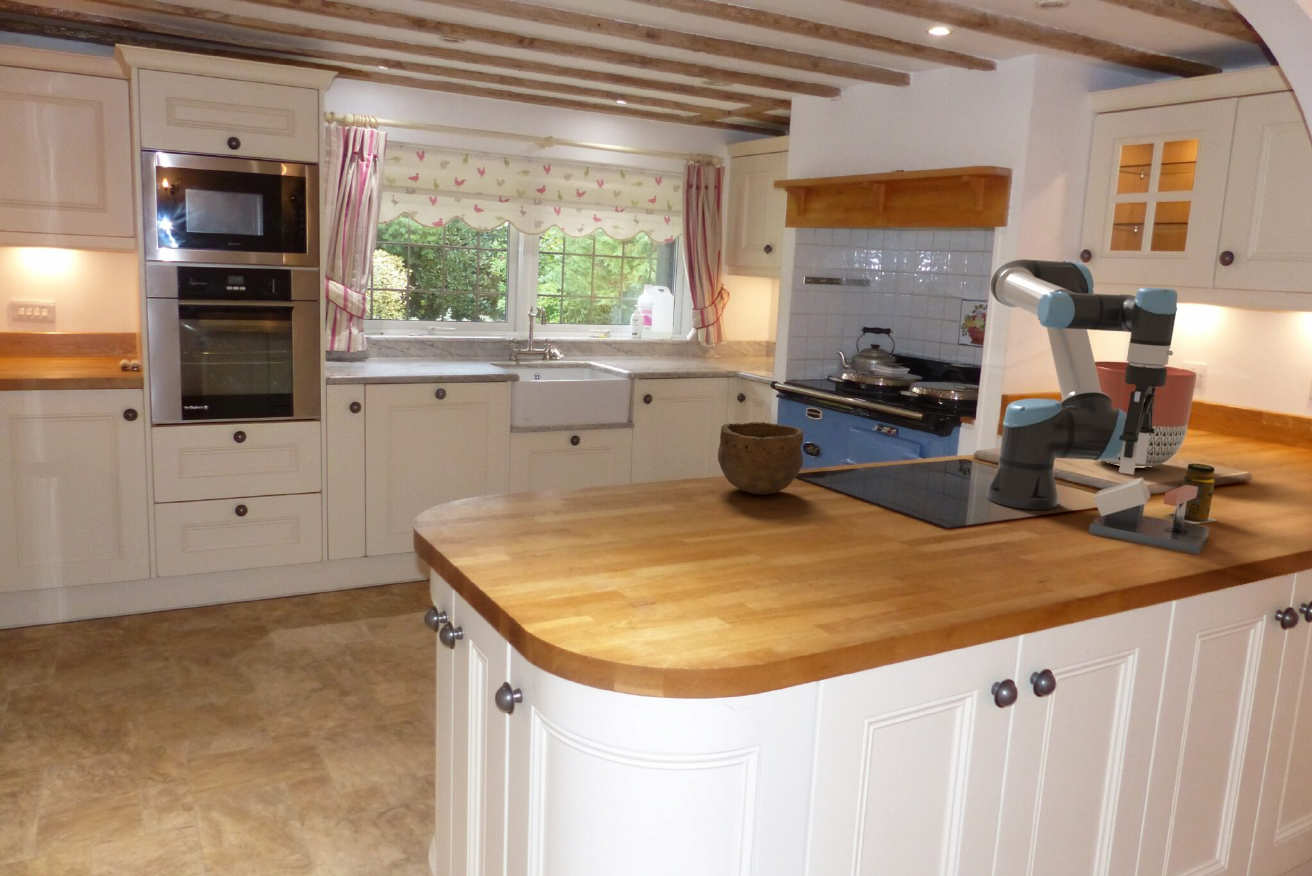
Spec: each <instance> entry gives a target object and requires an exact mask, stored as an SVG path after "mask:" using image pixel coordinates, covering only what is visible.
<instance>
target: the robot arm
mask: <svg viewBox="0 0 1312 876" xmlns="http://www.w3.org/2000/svg"><path fill="white" fill-rule="evenodd" d="M991 277H992V278H991V281H990V292H991V294H992V296H993V297H994V299H995V300H996V301H997V302H999V303H1000V304H1002V305H1004V306H1006V307H1009V308H1018V307H1019V308H1021V309H1023V310H1024V311H1027V312H1029V313H1031V314H1034V315H1035V316H1037V318H1038V321H1039V324H1040V325H1041V326H1042V327H1044V328H1046V329H1047V330H1046V331H1047V335H1048V340H1049V344H1050V348H1051V353H1052V359H1053V363H1054V366H1055V372H1056V376H1057V377H1056V378H1057V381H1058V386H1059V391H1060V395H1061V399H1062V400H1061V401H1059V400H1058V399H1051V398H1025V399H1018V400H1015V401H1012V402H1010V403H1009V404H1008V405H1007V407H1006V409H1005V413H1004V419H1003V420H1002V425H1003V426H1002V435H1001V441H1000V442H1001V444H1000V452H999V459H998V461H999V462H998V466H997V468H996V470H995V472H994V474H993V477H992V478H991V480H990V483H989V485H988V487H987V493H986V498H987V499H988V500H989V501H991V502H994V503H995V504H999V505H1002V506H1006V507H1009V508H1010V507H1011V508H1017V509H1023V510H1034V511H1036V510H1038V511H1039V510H1040V511H1041V510H1051V509H1055V508H1057V506H1058V499H1059V496H1058V495H1059V494H1058V489H1057V486H1056V480H1055V476H1054V466H1055V460H1056V459H1067V460H1068V459H1069V460H1070V459H1071V460H1072V459H1074V460H1092V461H1095V462H1097V461H1102V460H1111V459H1114V458H1115V457H1117V456H1118V455H1119V454H1120V453H1121V460H1120V467H1119V469H1118V473H1121V474H1127V475H1134V474H1135V463H1138V464H1146V457H1147V450H1148V443H1149V436H1150V434H1149V433H1154V428H1152V427H1153V425H1152V422H1153V407H1154V398H1155V390H1156V389H1155V387H1162V386H1164V385H1165V382H1166V376H1167V370H1166V368H1164V366H1167V365H1169V359H1170V358H1169V357H1170V356H1173V354H1174V351H1173V350H1170V349H1171V345H1172V340H1173V333H1174V328H1175V327H1174V326H1175V321H1176V315H1177V311H1178V306H1177V303H1178V292H1177V291H1176V290H1175V289H1173V288H1161V287H1160V288H1159V287H1158V288H1157V287H1140V288H1138V290H1137V291H1136V295H1132V294H1124V293H1123V294H1121V293H1120V294H1108V293H1107V294H1106V293H1103V294H1102V293H1095V292H1094V289H1093V288H1095V285H1094V284H1095V283H1094V277H1093V275H1092V273H1091V271H1090V269H1089V268H1088V266H1086V265H1085V264H1083V263H1080V262H1074V261H1071V260H1063V261H1054V260H1040V259H1039V260H1038V259H1023V258H1022V259H1015V260H1012V261H1008V262H1006V263H1005V264H1003V265H1001V266H1000V267H999V268H997V270H996V271H995V272H994V274H992V276H991ZM1088 331H1104V332H1105V331H1106V332H1123V333H1124V332H1126V333H1130V338H1129V342H1128V349H1127V357H1126V362H1129V363H1130V364H1129V365H1128V366H1126V372H1125V379H1124V380H1125V382H1126V383H1128V384H1134V385H1136V388H1135V391H1132V392H1131V394H1130V395H1131V396H1130V403H1129V407H1128V412H1127V414H1126V413H1125V411H1123V410H1121V409H1119V408H1117V409H1114V408H1113V405H1112V401H1111V398H1110V396H1109V395H1107V394H1105V393H1103V392H1102V390H1101V386H1100V382H1099V378H1098V374H1097V369H1096V365H1095V362H1096V361H1095V357H1094V353H1093V348H1092V344H1091V340H1090V337H1089V333H1088ZM1121 451H1122V452H1121Z"/></svg>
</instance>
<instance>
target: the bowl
mask: <svg viewBox="0 0 1312 876" xmlns="http://www.w3.org/2000/svg"><path fill="white" fill-rule="evenodd" d="M719 437H720V438H719V439H720V441H719V446H718V450H717V451H718V452H717V461H718V464H719V466H720V469H721V471H722V473H723V475H724V476H725V479H726V480H727V482H729V484H731V485H733V487H735V488H737V489H739V490H740V491H743V492H746V493H749V494H754V495H759V496H761V495H762V496H763V495H765V496H766V495H771V494H775V493H778V492H781V491H783V490H785V489H786V488H788V487H789V486H790V485H791V484H792V483H793V481H794V480H795V479H796V477H797V476H798V475H799V472H800V471H801V469H802V467H803V463H804V457H803V454H802V449H801V448H802V446H803V442H804V431H803V429H801V428H800V427H799V428H798V427H795V426H791V425H782V424H781V425H779V424H777V423H771V422H770V423H769V422H765V421H762V422H759V421H755V422H754V421H751V422H747V423H745V422H744V423H739V422H737V423H724V424H723V425H722V426H721V427H720V436H719Z"/></svg>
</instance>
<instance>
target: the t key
mask: <svg viewBox="0 0 1312 876" xmlns="http://www.w3.org/2000/svg"><path fill="white" fill-rule="evenodd" d="M1197 489H1198V487H1196V486H1190V485H1184V486H1179V487H1177V488H1174V489H1172V490H1169V491H1167V492H1165V493H1164V498H1163V504H1164V505H1168V506H1173V507H1175V509H1174V513H1175V514H1174V513H1173V514H1174V518H1173V520H1172V521H1173V527H1172V530H1175V531H1182V528H1183V523H1185V521H1184V515H1185V509H1186V503H1187V501H1189V500H1191V499H1194V498H1196V496H1197Z"/></svg>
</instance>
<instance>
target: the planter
mask: <svg viewBox="0 0 1312 876" xmlns="http://www.w3.org/2000/svg"><path fill="white" fill-rule="evenodd" d="M1129 364H1130V362H1128V361H1108V360H1107V361H1106V360H1105V361H1104V360H1103V361H1095V365H1096V369H1097V374H1098V378H1099V382H1100V386H1101V390H1102V392H1103V393H1105V394H1107V395H1109V396H1110V398H1111V401H1112V405H1113V408H1114V409H1117V408H1119V409H1121V410H1123V411H1125V413H1126V414H1127V412H1128V407H1129V403H1130V396H1131V395H1130V394H1131V392H1132V391H1135V388H1136V385H1134V384H1128V383H1126V382H1125V380H1124V379H1125V372H1126V366H1128V365H1129ZM1164 368H1166V370H1167V376H1166V382H1165V385H1164V386H1162V387H1155V389H1156V390H1155V398H1154V407H1153V422H1152V425H1153V427H1152V428H1154V433H1149V434H1150V436H1149V443H1148V450H1147V457H1146V464H1138V463H1135V466H1145V467H1146V466H1147V467H1149V466H1155V467H1157V465H1158V466H1160V465H1162V464H1164V463H1166V462H1167V461H1169V460H1170V459H1171V458H1173V457H1174V456H1175V455H1176V454H1177V453H1178V452H1179V450H1180V449H1181V447H1182V445H1183V443H1184V442H1185V441H1184V440H1185V439H1186V434H1187V431H1188V426H1189V422H1190V421H1189V419H1190V415H1191V409H1192V404H1193V397H1194V392H1195V387H1196V381H1197V380H1196V379H1197V375H1198V374H1197V373H1196V372H1195V371H1193V370H1188V369H1186V368H1180V367H1174V366H1167V365H1165V366H1164ZM1121 452H1122V451H1121ZM1120 460H1121V453H1120V454H1119V455H1118V456H1117V457H1115V458H1114V459H1111V460H1101V461H1102V462H1104V461H1105V462H1104V463H1106V462H1109V463H1112V464H1119V465H1120Z"/></svg>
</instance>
